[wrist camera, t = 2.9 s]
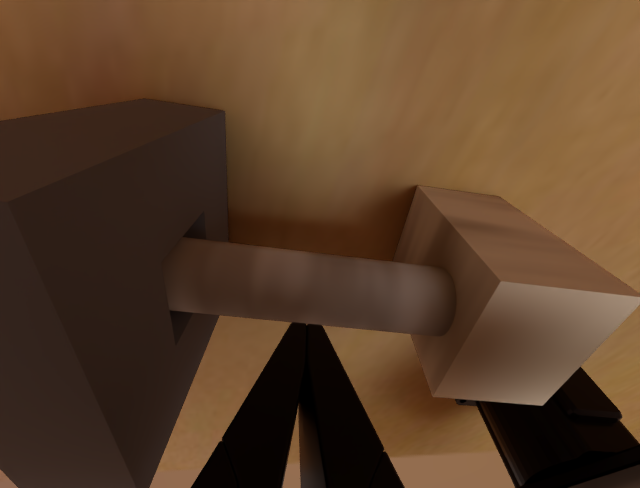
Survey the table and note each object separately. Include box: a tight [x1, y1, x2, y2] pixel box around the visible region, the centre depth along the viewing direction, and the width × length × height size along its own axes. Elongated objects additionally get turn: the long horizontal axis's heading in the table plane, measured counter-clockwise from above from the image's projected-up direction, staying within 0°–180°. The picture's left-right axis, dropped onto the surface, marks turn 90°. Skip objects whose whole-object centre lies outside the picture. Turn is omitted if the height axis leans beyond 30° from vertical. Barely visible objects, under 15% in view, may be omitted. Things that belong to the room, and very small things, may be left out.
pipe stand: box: [161, 185, 640, 406], centre depth 12 cm, size 12×36×7 cm, turn 82°
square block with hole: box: [0, 99, 229, 488], centre depth 9 cm, size 9×3×9 cm, turn 172°
